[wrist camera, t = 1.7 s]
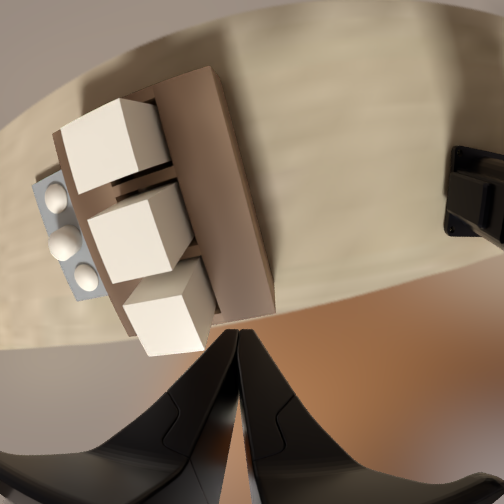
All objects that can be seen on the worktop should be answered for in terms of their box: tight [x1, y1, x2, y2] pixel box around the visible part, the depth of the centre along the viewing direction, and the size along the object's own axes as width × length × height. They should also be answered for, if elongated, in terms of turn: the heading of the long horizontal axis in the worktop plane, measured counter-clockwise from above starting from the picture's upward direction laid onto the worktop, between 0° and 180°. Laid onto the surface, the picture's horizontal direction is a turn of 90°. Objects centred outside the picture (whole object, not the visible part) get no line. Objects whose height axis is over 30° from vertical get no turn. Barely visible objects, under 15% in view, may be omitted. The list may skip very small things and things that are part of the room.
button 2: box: [123, 255, 217, 356], centre depth 16 cm, size 3×3×5 cm
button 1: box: [60, 98, 172, 194], centre depth 13 cm, size 3×3×5 cm
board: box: [52, 66, 276, 337], centre depth 17 cm, size 10×14×4 cm
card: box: [32, 170, 108, 301], centre depth 19 cm, size 4×10×2 cm, turn 14°
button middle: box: [87, 181, 195, 284], centre depth 15 cm, size 3×3×5 cm
